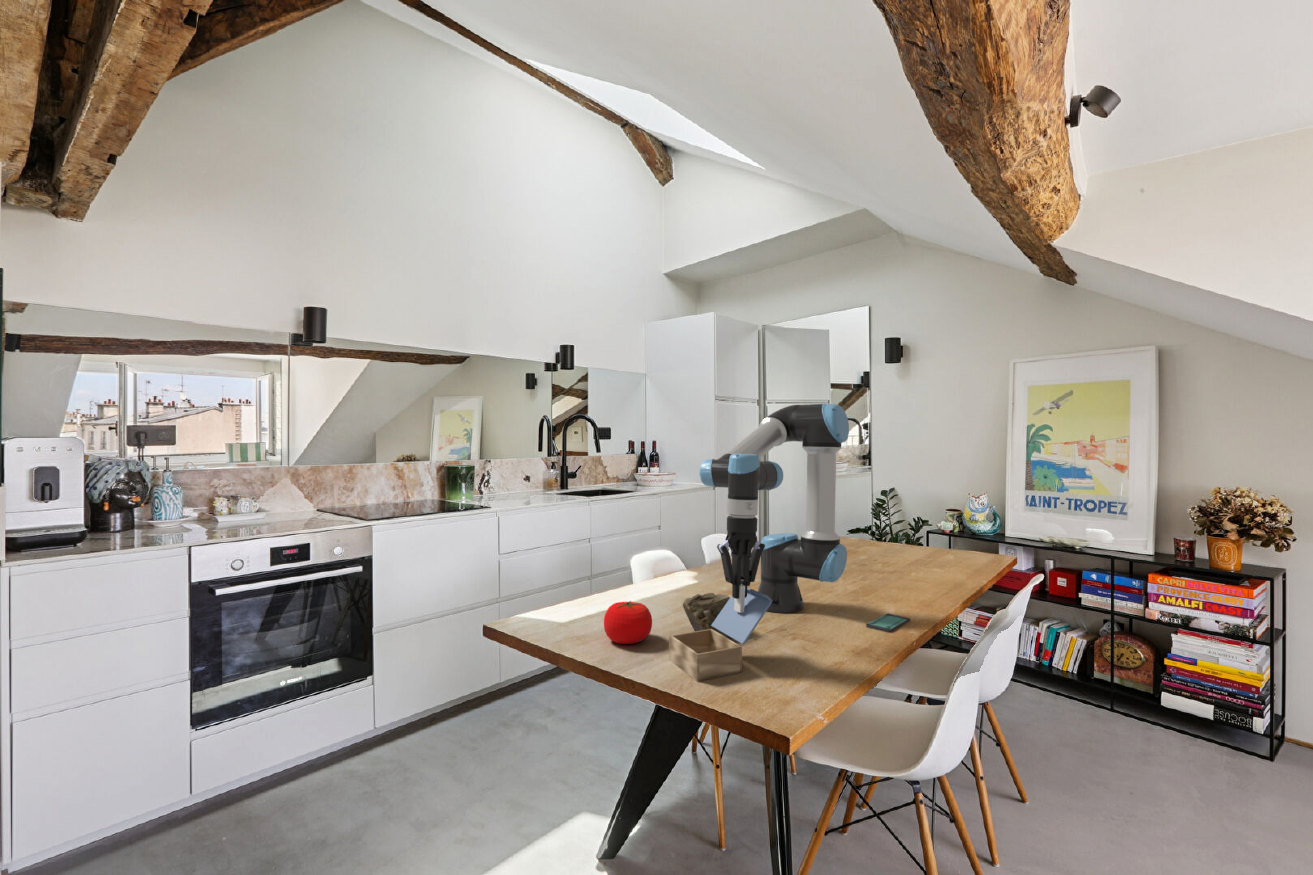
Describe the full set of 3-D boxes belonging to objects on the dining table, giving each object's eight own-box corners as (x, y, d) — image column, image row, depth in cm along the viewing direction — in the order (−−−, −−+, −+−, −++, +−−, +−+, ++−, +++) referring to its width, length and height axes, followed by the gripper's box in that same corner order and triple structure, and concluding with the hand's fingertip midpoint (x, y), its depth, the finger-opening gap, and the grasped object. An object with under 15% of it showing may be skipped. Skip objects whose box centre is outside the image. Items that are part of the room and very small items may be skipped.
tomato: (597, 634, 166) (597, 597, 166) (641, 629, 171) (641, 592, 170) (612, 652, 153) (612, 612, 153) (659, 646, 157) (659, 606, 157)
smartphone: (911, 617, 178) (890, 629, 168) (911, 621, 178) (889, 633, 168) (886, 612, 183) (864, 623, 173) (886, 616, 183) (864, 627, 173)
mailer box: (669, 659, 148) (669, 635, 148) (711, 651, 153) (711, 628, 153) (697, 681, 135) (697, 654, 135) (741, 672, 140) (741, 646, 140)
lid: (734, 581, 156) (739, 586, 157) (706, 621, 153) (712, 626, 153) (767, 595, 143) (773, 600, 144) (738, 639, 140) (743, 644, 140)
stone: (692, 601, 158) (727, 574, 168) (673, 606, 165) (708, 580, 174) (721, 656, 157) (755, 626, 166) (701, 658, 163) (735, 629, 173)
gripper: (728, 518, 142) (725, 617, 142) (772, 517, 148) (769, 612, 148) (712, 514, 149) (709, 609, 149) (755, 513, 155) (752, 604, 155)
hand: (739, 610), depth 148 cm, fingers closed
